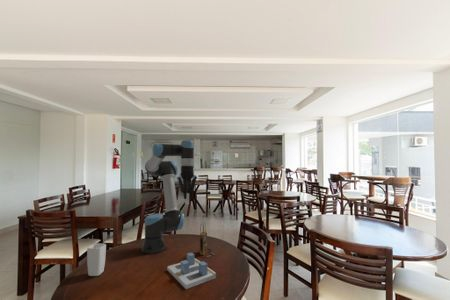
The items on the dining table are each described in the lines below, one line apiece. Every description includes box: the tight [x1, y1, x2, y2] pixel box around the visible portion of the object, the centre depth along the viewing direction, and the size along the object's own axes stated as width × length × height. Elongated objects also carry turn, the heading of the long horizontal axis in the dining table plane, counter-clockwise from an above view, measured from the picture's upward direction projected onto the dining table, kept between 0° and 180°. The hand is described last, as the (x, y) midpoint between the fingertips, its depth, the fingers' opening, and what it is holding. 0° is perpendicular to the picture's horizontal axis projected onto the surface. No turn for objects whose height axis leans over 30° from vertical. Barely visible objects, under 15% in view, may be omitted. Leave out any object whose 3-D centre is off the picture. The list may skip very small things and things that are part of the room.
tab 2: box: [186, 252, 196, 265], centre depth 128 cm, size 4×3×5 cm
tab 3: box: [199, 260, 209, 276], centre depth 117 cm, size 4×3×5 cm
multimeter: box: [199, 222, 215, 259], centre depth 147 cm, size 15×10×20 cm
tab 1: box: [180, 259, 189, 274], centre depth 118 cm, size 4×3×5 cm
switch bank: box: [166, 258, 217, 290], centre depth 120 cm, size 23×17×3 cm
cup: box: [86, 243, 107, 277], centre depth 120 cm, size 7×7×15 cm
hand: (186, 204), depth 137 cm, fingers closed
